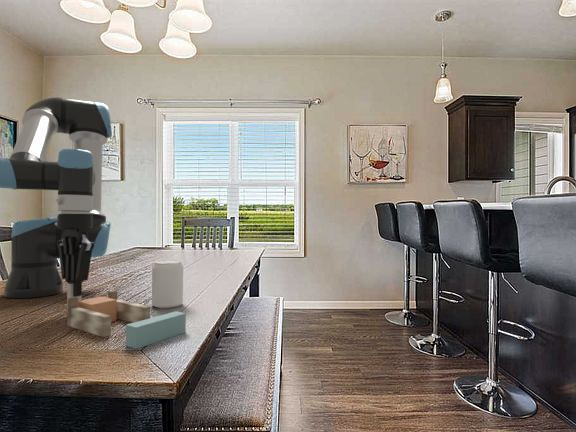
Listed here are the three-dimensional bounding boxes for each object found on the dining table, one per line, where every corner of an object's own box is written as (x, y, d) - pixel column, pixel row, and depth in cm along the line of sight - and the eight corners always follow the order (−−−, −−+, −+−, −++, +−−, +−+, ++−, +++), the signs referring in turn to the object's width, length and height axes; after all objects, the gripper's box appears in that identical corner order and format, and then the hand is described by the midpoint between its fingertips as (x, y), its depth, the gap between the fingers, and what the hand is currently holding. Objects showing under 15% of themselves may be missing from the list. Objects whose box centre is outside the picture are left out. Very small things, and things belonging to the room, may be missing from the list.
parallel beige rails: (67, 325, 82) (67, 298, 82) (113, 314, 91) (113, 290, 91) (103, 337, 75) (104, 307, 75) (150, 324, 84) (150, 297, 84)
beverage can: (173, 310, 96) (174, 264, 96) (145, 308, 98) (146, 263, 98) (188, 302, 104) (188, 260, 104) (161, 301, 106) (162, 259, 106)
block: (76, 322, 85) (76, 301, 85) (101, 316, 90) (101, 296, 90) (91, 327, 82) (91, 304, 82) (116, 320, 87) (116, 299, 87)
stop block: (125, 345, 70) (126, 324, 70) (175, 329, 80) (176, 311, 80) (135, 349, 68) (135, 327, 68) (185, 332, 78) (185, 313, 78)
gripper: (45, 212, 91) (44, 308, 91) (73, 212, 84) (72, 316, 84) (76, 213, 97) (75, 302, 97) (105, 213, 90) (104, 309, 90)
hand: (74, 308), depth 91 cm, fingers closed
